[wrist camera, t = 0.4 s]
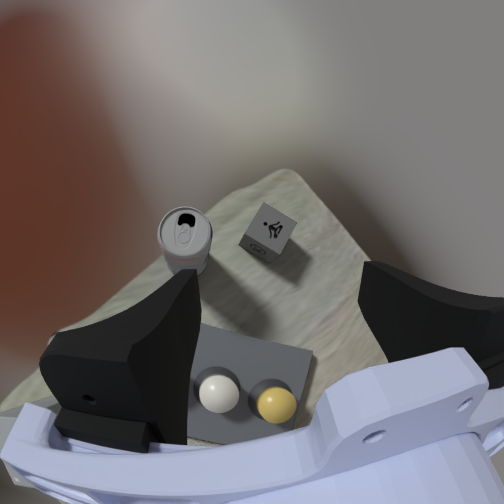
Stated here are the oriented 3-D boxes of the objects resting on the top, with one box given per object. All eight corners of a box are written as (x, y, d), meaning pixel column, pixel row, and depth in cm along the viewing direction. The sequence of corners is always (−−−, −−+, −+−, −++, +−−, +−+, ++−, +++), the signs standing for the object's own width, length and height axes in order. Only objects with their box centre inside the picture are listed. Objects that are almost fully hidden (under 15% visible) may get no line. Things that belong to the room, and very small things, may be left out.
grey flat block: (279, 447, 33) (284, 452, 31) (122, 411, 31) (119, 415, 29) (307, 350, 38) (313, 351, 36) (148, 306, 35) (146, 305, 33)
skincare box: (104, 443, 29) (64, 496, 14) (64, 445, 27) (14, 489, 12) (83, 388, 30) (25, 417, 15) (44, 393, 29) (-20, 417, 14)
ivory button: (231, 411, 30) (233, 416, 29) (195, 403, 30) (195, 407, 28) (240, 378, 32) (243, 381, 30) (204, 369, 31) (204, 372, 29)
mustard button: (285, 420, 31) (290, 425, 29) (252, 415, 31) (255, 420, 29) (294, 389, 33) (300, 392, 31) (261, 383, 32) (265, 386, 30)
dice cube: (269, 263, 40) (280, 254, 35) (238, 244, 40) (244, 233, 35) (285, 234, 42) (297, 222, 37) (255, 216, 41) (263, 202, 37)
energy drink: (209, 243, 39) (216, 208, 28) (204, 282, 37) (208, 262, 26) (171, 237, 38) (162, 200, 27) (164, 276, 37) (151, 254, 25)
